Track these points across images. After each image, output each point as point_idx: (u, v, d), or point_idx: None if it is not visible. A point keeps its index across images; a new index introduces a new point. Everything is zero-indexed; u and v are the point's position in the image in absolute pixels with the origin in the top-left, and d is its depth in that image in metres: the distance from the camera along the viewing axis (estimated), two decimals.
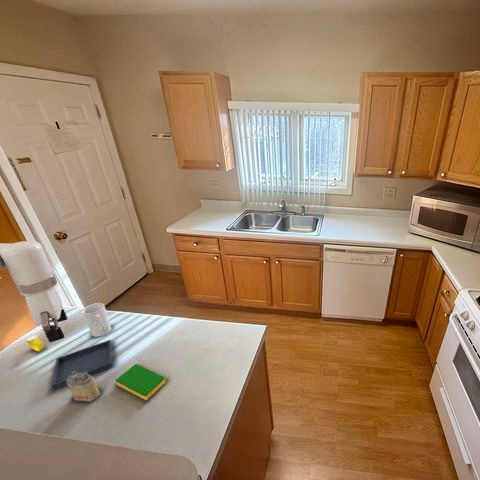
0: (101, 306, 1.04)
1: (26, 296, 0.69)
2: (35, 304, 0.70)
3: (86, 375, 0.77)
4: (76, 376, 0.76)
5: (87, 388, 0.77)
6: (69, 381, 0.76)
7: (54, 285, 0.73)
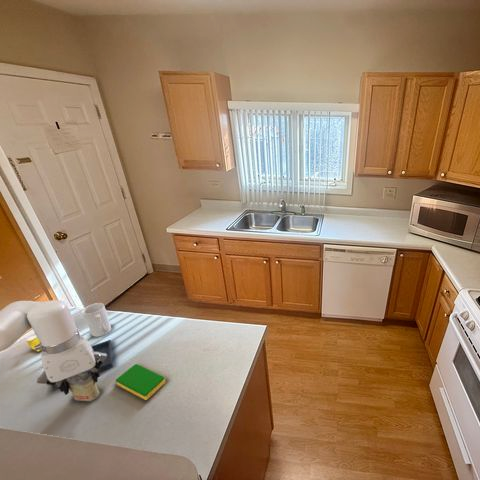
0: (101, 306, 1.04)
1: (79, 344, 0.73)
2: (87, 346, 0.75)
3: (86, 375, 0.77)
4: (76, 376, 0.76)
5: (87, 388, 0.77)
6: (69, 381, 0.76)
7: None
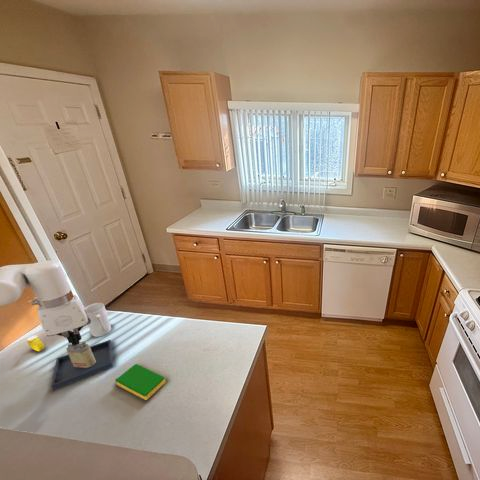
0: (101, 306, 1.04)
1: (72, 301, 0.81)
2: (80, 304, 0.83)
3: (84, 344, 0.87)
4: None
5: (84, 355, 0.87)
6: (69, 349, 0.86)
7: None
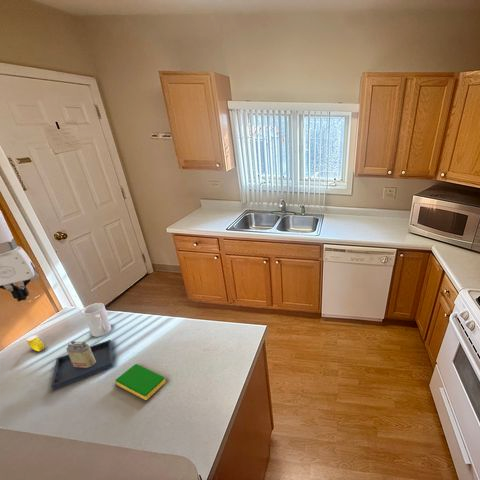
0: (101, 306, 1.04)
1: (15, 251, 0.75)
2: (25, 256, 0.78)
3: (84, 344, 0.87)
4: (75, 344, 0.86)
5: (84, 355, 0.87)
6: (69, 349, 0.86)
7: None
